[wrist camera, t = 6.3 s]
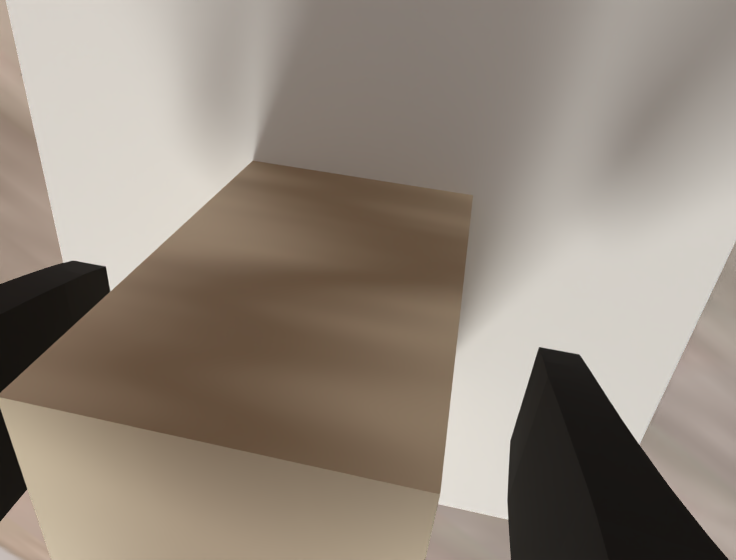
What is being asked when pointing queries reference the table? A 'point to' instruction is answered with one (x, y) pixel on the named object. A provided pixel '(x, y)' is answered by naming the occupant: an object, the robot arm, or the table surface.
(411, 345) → the birch block
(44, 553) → the table surface
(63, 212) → the white board
